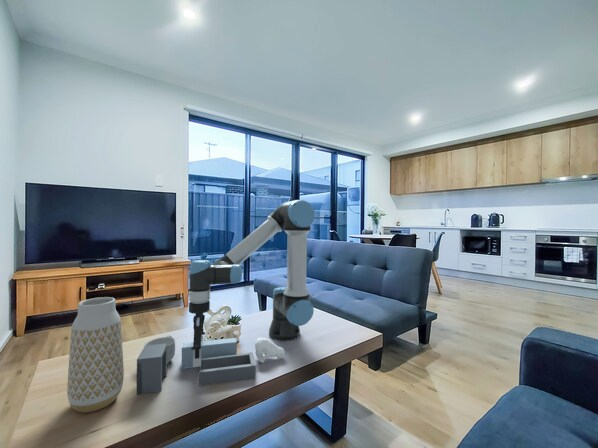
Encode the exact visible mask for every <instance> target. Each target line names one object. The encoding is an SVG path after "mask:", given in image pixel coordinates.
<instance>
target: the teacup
mask: <svg viewBox="0 0 598 448" xmlns="http://www.w3.org/2000/svg"><path fill="white" fill-rule="evenodd" d="M175 342H176V339H175V338H174V337H172V335H169V334H168V335H166V336H164V337H163V336H162V337H157V338H155V339H152V340H151V339H150V340H149V341H147V342H146V343H144V345H143V348H144V347H145V345H155V344H165V343H167V364H168V363H170V362H171V360H173V358H174V357H175V355H176V343H175Z"/></svg>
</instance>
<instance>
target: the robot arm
mask: <svg viewBox="0 0 598 448" xmlns="http://www.w3.org/2000/svg"><path fill="white" fill-rule="evenodd" d="M314 209H315V208H314V206H313V205H312V204H311V203H310V202H309V201H307V200H304V199H294V200H290V201H285V202H283V203H282V204H281V205H279V206H278V207H277V208H276V209H275V210H274V211H273V212H271V213H270V214H269V215H268V216H267V218H266V219H267V220H265V221H264V222H263V223H261V225H259V226H258V227H257V228H255V229H254V230H253V231H252V232H251V233H249V234H248V235H247V236H246V237H245V238H243V239H242V240H241V241H239V243H238V244H237V245H235V246H234V247H232V249H230V250H229V251H228V252H227V253H226V254H224V255H223V256H222V257H221V258H220V259H216V260H215V261H214V262H213V263H212V262H211V261H210V260H207V259H196V260H192V261H191V262H190V264H189V292H188V293H187V296H189V301H188V302H189V303H188V312H189V314H190V313H191V314H193V319H192V322H193V341H192V342H193V347H192V348H191V350H193V367H192V368H198V367H199V368H200V367H201V341H204V336H205V335H206V332H205V330H204V329H205V328H204V324H205V319H206V318H205V316H206V315H205V313H208V312H209V311H210V309H211V308H210V307H211V301H210V299H211V286H213V285H214V286H215V285H233V284H238V283H240V282H242V278H243V270H242V266H241V264H243V262H244V261H246V260H247V259H248V258H249V257H250V256H251V255H252V254H254V253H255V252H256V251H257V250H258V249H259V248H261V247H262V246H263V245H264V244H265V243H267V242H268V241H269V240H270V239H271V238H273V236H275V235H276V234H277V233H281V232H282V231H284V232H285V234H286V235H287V237H286V238H287V249H286V251H287V252H286V253H287V255H286V262H287V263H286V286H280V287H279V286H278V287H275V288H274V289H273V292H272V320H271V323H270V326H269V329H268V336H269V338H271V339H272V340H275V341H280V342H281V341H282V342H283V341H284V342H286V341H287V340H289V341H293V340H292V339H294V340H296V339H298V338H299V337H300V336H301V329H300V327H301V326H304V325H307V324H308V323H309V321H310V320H311V319H312V318H313V315H314V312H315V311H314V306H313V304H312V303H311V301H310V293H311V292H310V291H309V290H308V289H307V264H308V263H307V255H308V254H307V251H308V245H307V244H308V243H307V242H308V241H307V240H308V239H307V238H308V234H310V232H311V225H312V224H313V223H314V221H315V218H316V213H315V210H314ZM299 335H300V336H299ZM298 336H299V337H298ZM297 337H298V338H297ZM295 338H296V339H295ZM196 345H197V346H196Z"/></svg>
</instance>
